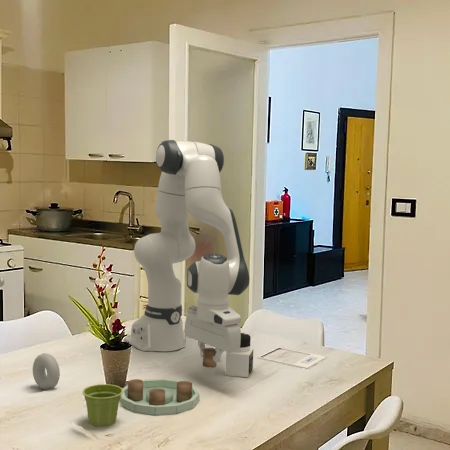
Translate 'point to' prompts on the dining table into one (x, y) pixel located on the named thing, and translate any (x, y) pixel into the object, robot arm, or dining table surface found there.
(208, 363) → the wooden cylinder
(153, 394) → the seated bead
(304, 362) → the photo frame
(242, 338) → the medicine bottle
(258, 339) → the dining table surface
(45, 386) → the donut
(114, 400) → the plant pot
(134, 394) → the seated bead
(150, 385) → the tray
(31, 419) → the dining table surface
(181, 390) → the loose bead
